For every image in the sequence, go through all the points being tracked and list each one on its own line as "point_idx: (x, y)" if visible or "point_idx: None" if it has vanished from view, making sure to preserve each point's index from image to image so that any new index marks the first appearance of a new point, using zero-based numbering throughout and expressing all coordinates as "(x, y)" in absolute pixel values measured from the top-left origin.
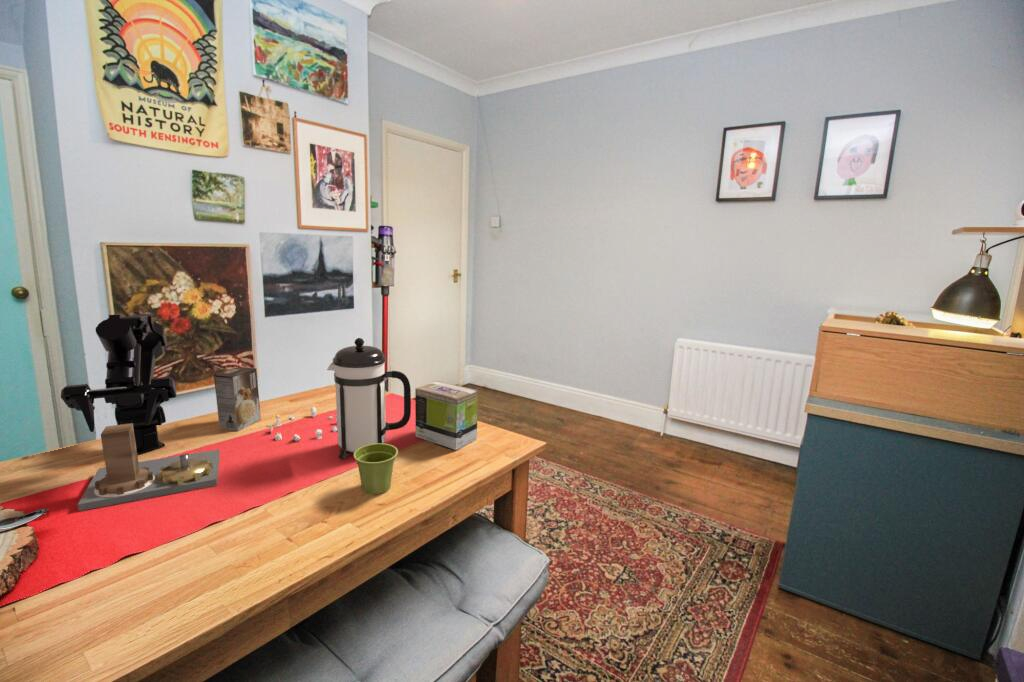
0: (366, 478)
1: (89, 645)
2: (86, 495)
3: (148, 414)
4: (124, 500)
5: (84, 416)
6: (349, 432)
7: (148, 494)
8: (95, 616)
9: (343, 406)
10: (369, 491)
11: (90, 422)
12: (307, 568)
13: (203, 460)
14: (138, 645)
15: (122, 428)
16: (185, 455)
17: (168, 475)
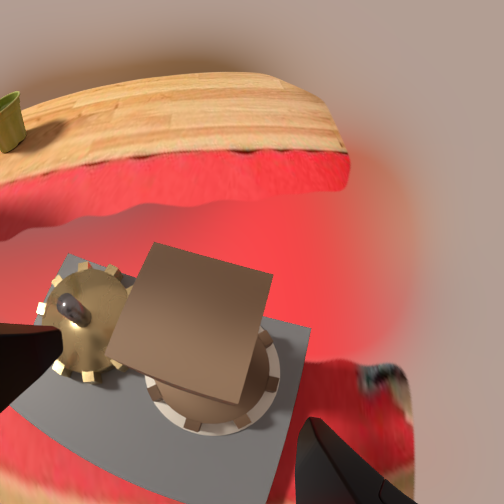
0: (21, 116)
1: (281, 90)
2: (295, 365)
3: (19, 326)
4: None
5: (372, 469)
6: None
7: None
8: (278, 105)
9: None
10: (25, 130)
11: (325, 439)
12: (136, 81)
13: None
14: (254, 79)
15: (166, 299)
16: (63, 300)
17: (123, 302)
